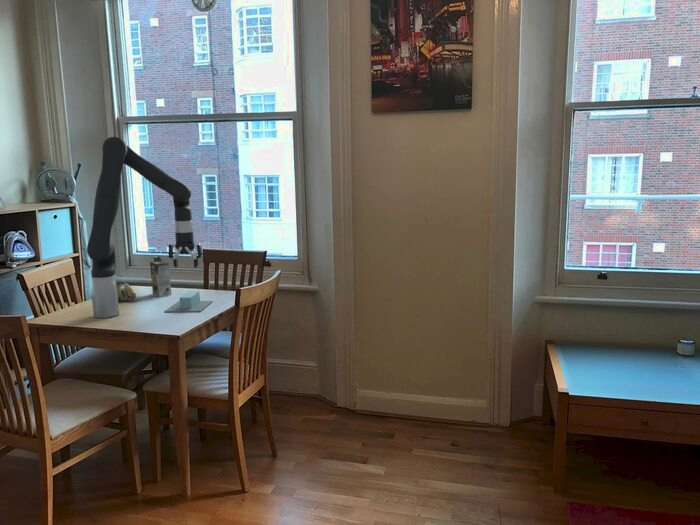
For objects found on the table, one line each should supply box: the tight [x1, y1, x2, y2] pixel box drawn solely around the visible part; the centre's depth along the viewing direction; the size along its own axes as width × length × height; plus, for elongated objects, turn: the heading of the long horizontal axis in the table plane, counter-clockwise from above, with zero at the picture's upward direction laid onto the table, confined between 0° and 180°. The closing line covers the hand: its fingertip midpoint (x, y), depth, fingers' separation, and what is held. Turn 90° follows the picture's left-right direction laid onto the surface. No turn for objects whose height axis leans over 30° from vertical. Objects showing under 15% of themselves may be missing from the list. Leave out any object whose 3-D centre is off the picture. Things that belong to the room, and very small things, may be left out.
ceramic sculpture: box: [117, 282, 137, 302], centre depth 262 cm, size 11×9×15 cm
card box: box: [179, 290, 201, 309], centre depth 247 cm, size 5×5×12 cm
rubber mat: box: [163, 300, 214, 313], centre depth 246 cm, size 16×18×1 cm
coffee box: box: [149, 260, 172, 298], centre depth 270 cm, size 9×6×16 cm
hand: (186, 267), depth 243 cm, fingers open, 8 cm apart
